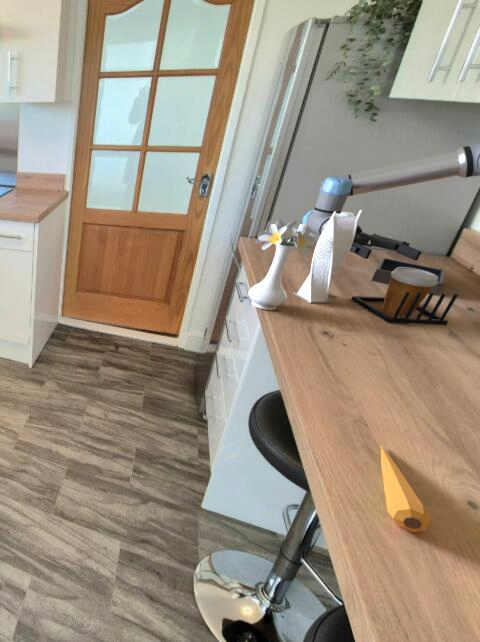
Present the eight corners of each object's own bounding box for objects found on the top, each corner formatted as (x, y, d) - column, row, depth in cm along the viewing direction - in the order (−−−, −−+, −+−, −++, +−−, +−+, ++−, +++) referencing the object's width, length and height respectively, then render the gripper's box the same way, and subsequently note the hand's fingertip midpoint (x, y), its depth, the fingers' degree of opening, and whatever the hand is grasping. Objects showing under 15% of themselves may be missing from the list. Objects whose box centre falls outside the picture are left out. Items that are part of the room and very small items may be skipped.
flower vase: (294, 301, 128) (327, 219, 116) (282, 323, 116) (317, 234, 104) (245, 288, 135) (271, 210, 124) (229, 308, 123) (256, 224, 112)
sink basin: (377, 268, 151) (382, 257, 149) (438, 281, 141) (444, 270, 139) (371, 280, 141) (376, 269, 140) (435, 295, 132) (442, 283, 130)
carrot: (414, 542, 61) (445, 527, 59) (381, 519, 62) (410, 503, 60) (382, 461, 77) (405, 446, 75) (357, 443, 78) (378, 429, 76)
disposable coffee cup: (366, 306, 125) (384, 268, 119) (388, 302, 127) (407, 264, 122) (404, 322, 117) (426, 282, 111) (427, 316, 119) (449, 277, 114)
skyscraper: (336, 305, 126) (378, 211, 113) (310, 305, 125) (349, 211, 112) (313, 292, 133) (351, 203, 120) (289, 293, 132) (323, 203, 120)
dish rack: (403, 301, 128) (418, 273, 124) (446, 324, 115) (464, 295, 111) (350, 299, 129) (363, 272, 125) (388, 322, 116) (403, 293, 112)
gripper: (375, 244, 143) (432, 268, 125) (298, 241, 145) (342, 265, 126) (386, 222, 140) (445, 244, 121) (306, 220, 141) (353, 241, 123)
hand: (393, 255), depth 124 cm, fingers open, 13 cm apart
